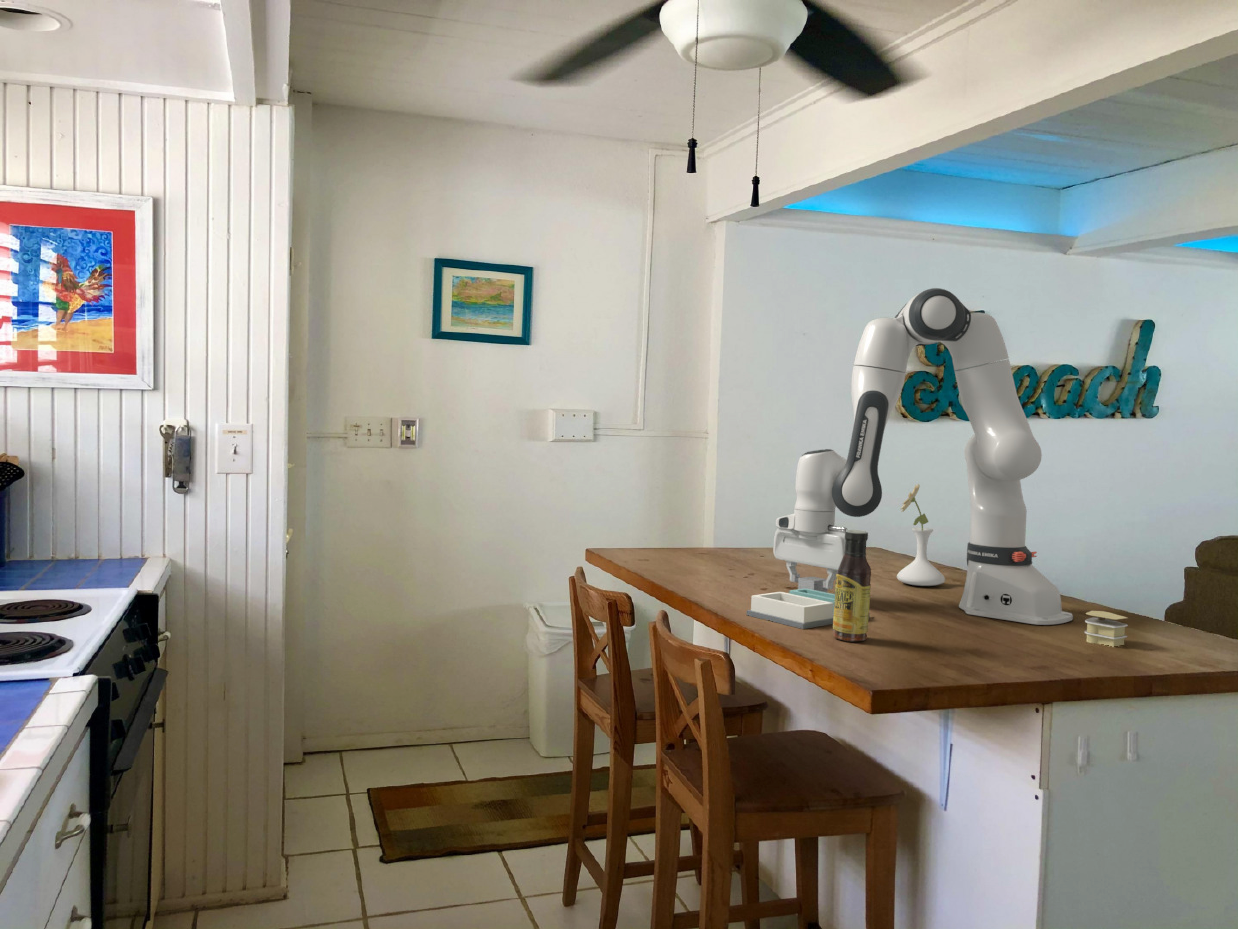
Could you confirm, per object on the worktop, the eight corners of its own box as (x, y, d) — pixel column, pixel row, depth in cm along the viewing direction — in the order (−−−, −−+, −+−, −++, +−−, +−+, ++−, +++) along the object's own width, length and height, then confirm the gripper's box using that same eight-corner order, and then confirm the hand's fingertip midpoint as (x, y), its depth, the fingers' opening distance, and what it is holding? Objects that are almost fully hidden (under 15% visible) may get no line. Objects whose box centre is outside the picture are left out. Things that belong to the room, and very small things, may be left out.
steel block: (827, 601, 213) (827, 579, 213) (813, 604, 210) (814, 581, 210) (811, 598, 217) (812, 576, 217) (797, 600, 214) (798, 578, 214)
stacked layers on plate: (1143, 647, 177) (1145, 618, 177) (1115, 653, 173) (1116, 622, 172) (1092, 636, 186) (1094, 608, 185) (1064, 641, 181) (1065, 612, 181)
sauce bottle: (825, 636, 178) (829, 529, 177) (853, 634, 181) (857, 528, 180) (847, 644, 172) (851, 533, 171) (875, 642, 175) (880, 532, 174)
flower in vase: (911, 579, 246) (915, 481, 245) (953, 586, 238) (957, 484, 237) (883, 584, 237) (887, 482, 236) (925, 591, 229) (930, 486, 228)
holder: (869, 617, 197) (870, 598, 196) (802, 629, 184) (803, 608, 184) (812, 605, 208) (813, 586, 208) (746, 615, 196) (747, 595, 196)
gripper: (861, 527, 206) (858, 592, 207) (789, 517, 223) (786, 577, 223) (842, 529, 203) (839, 594, 203) (770, 518, 219) (767, 579, 219)
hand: (810, 585), depth 213 cm, fingers open, 8 cm apart
